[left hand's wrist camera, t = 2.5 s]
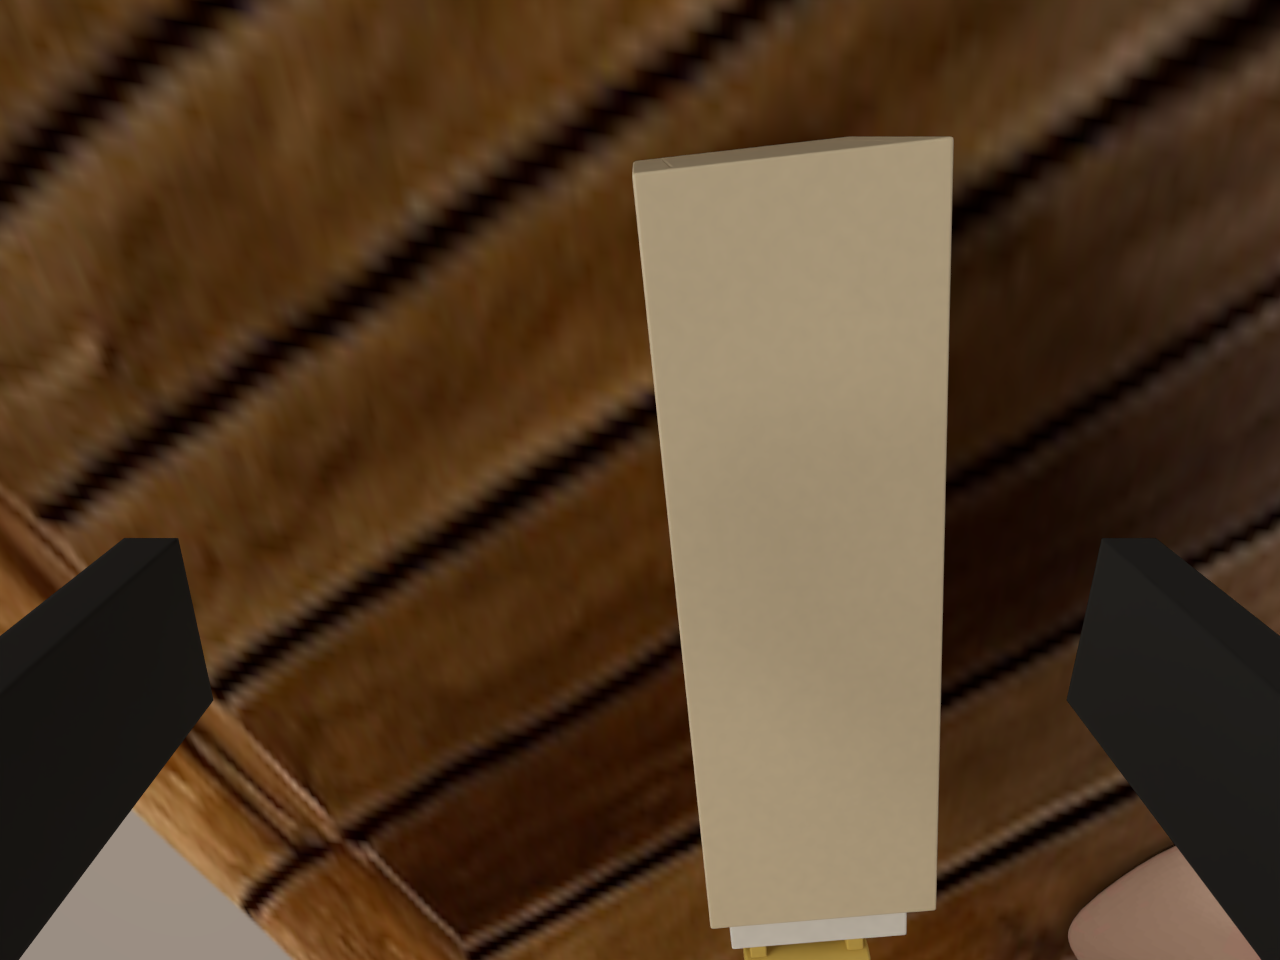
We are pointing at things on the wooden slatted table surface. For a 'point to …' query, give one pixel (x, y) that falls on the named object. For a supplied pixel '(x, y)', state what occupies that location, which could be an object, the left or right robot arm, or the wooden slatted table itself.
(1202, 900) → the anatomical model
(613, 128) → the wooden slatted table surface
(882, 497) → the cabinet
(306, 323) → the wooden slatted table surface
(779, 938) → the drawer
